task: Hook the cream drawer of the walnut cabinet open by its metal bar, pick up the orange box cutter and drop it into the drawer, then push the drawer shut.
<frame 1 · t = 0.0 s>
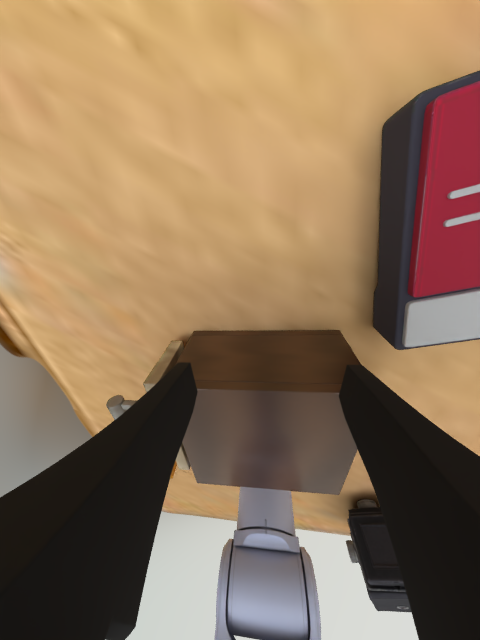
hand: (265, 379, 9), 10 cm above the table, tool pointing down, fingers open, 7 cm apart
cabinet: (264, 382, 24), on the table
camera: (367, 506, 37), on the table
drawer: (214, 408, 21), point 4 cm above the table, slide at 1.0 cm
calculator: (457, 226, 14), on the table
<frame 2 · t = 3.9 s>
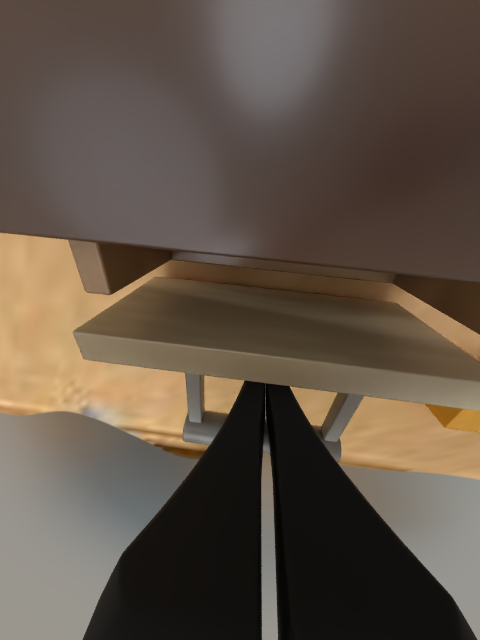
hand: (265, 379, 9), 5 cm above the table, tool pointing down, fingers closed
box cutter: (464, 382, 14), on the table
drawer: (291, 235, 7), point 4 cm above the table, slide at 3.0 cm, touching gripper
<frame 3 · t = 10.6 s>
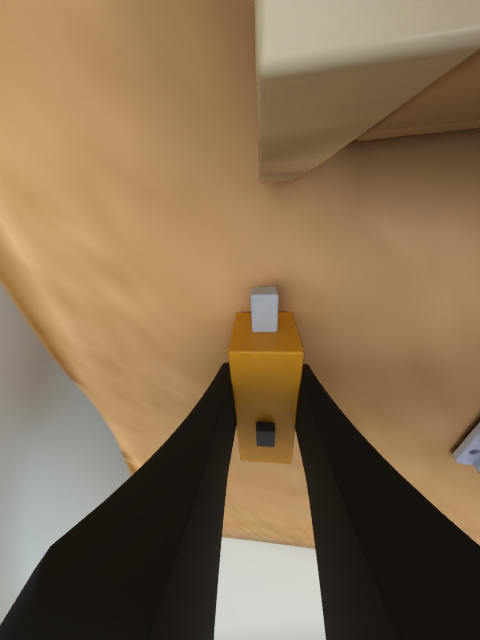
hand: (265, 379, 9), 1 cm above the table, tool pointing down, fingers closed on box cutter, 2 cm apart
box cutter: (264, 359, 11), on the table, touching gripper
when the fingers open (4 cm above the table, at t = 14.8 s): box cutter stays where it is, resting on drawer.
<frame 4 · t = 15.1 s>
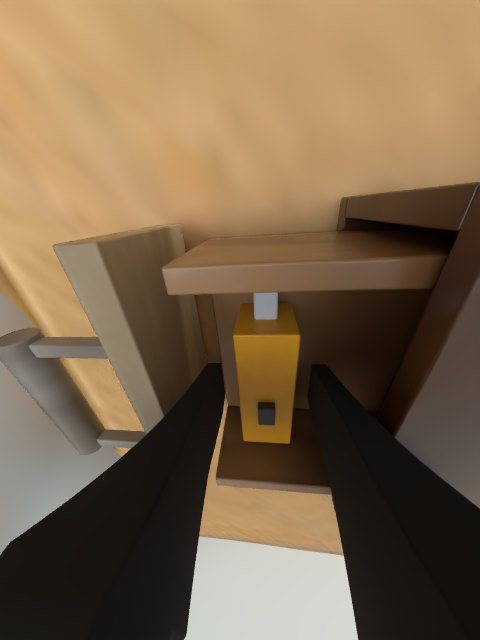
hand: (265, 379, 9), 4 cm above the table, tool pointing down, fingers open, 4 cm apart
box cutter: (265, 348, 12), point 2 cm above the table, touching drawer
cabinet: (445, 328, 12), on the table
drawer: (247, 369, 10), point 4 cm above the table, slide at 7.6 cm, touching box cutter
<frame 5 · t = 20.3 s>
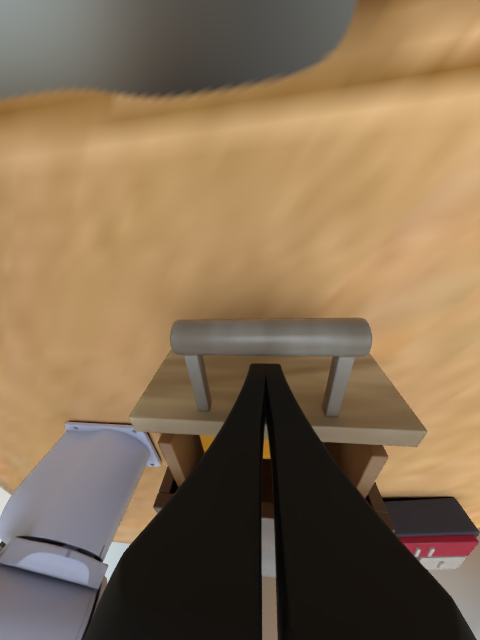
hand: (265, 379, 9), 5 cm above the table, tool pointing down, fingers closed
cabinet: (264, 451, 22), on the table
drawer: (264, 422, 14), point 4 cm above the table, slide at 6.7 cm, touching box cutter
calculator: (381, 512, 27), on the table
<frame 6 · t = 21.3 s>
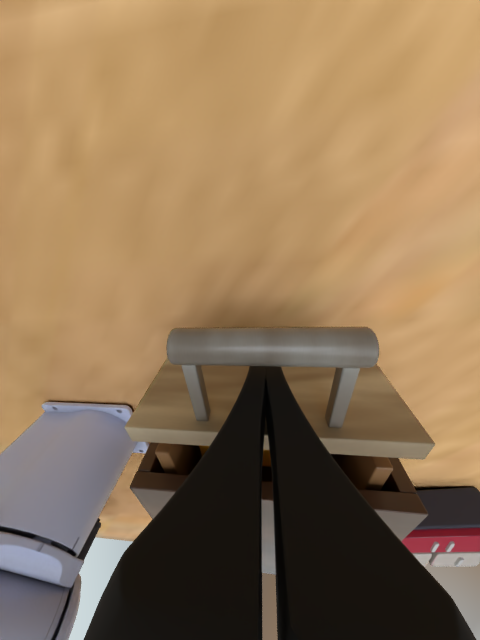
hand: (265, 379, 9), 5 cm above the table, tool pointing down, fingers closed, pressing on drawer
cabinet: (264, 434, 20), on the table
drawer: (265, 429, 13), point 4 cm above the table, slide at 2.7 cm, touching box cutter, gripper
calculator: (392, 505, 25), on the table
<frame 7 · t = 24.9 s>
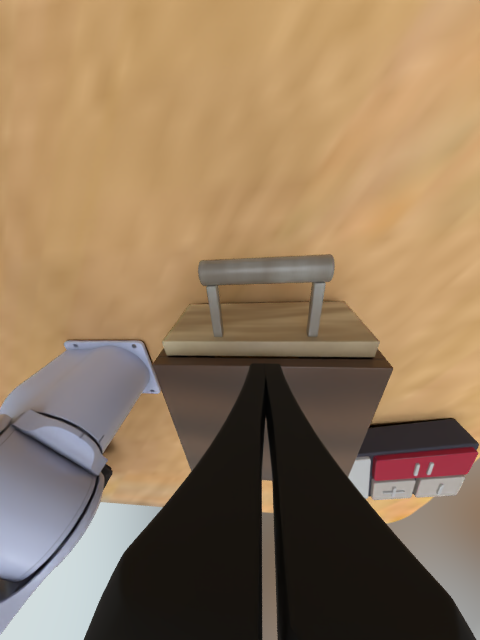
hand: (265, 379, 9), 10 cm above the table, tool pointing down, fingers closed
cabinet: (263, 368, 22), on the table
drawer: (264, 362, 17), point 4 cm above the table, slide at 0.0 cm, touching box cutter, cabinet
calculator: (381, 445, 27), on the table
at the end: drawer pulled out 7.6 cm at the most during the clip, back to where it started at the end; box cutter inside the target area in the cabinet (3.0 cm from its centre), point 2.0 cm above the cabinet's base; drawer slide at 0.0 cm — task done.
